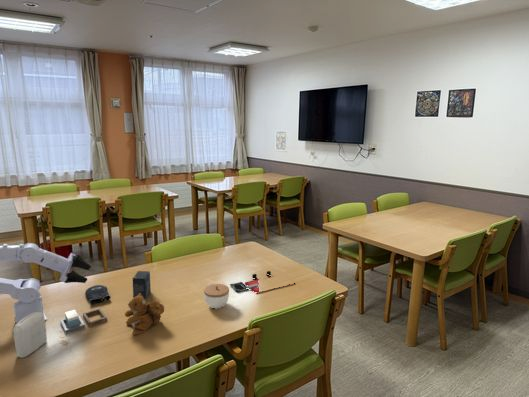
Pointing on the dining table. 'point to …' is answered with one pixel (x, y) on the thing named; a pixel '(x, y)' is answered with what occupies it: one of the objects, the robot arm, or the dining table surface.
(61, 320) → the gray square tray
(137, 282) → the box
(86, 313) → the brown square frame
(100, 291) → the electronic device
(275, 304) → the dining table surface
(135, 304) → the stuffed squirrel
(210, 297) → the lidded jar
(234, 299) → the dining table surface
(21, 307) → the robot arm
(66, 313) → the plug
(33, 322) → the photo printer
